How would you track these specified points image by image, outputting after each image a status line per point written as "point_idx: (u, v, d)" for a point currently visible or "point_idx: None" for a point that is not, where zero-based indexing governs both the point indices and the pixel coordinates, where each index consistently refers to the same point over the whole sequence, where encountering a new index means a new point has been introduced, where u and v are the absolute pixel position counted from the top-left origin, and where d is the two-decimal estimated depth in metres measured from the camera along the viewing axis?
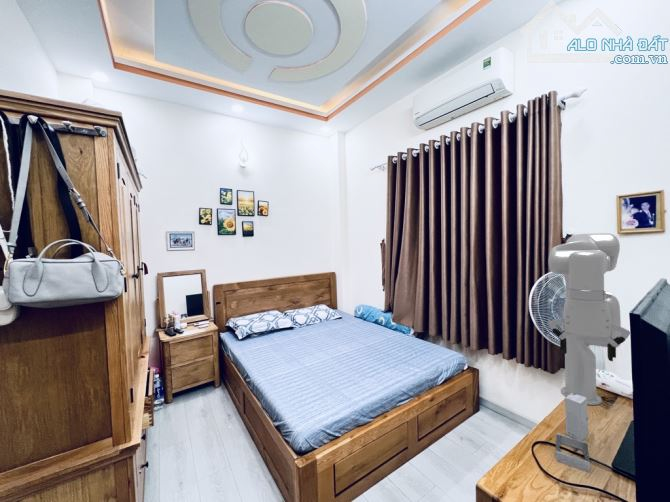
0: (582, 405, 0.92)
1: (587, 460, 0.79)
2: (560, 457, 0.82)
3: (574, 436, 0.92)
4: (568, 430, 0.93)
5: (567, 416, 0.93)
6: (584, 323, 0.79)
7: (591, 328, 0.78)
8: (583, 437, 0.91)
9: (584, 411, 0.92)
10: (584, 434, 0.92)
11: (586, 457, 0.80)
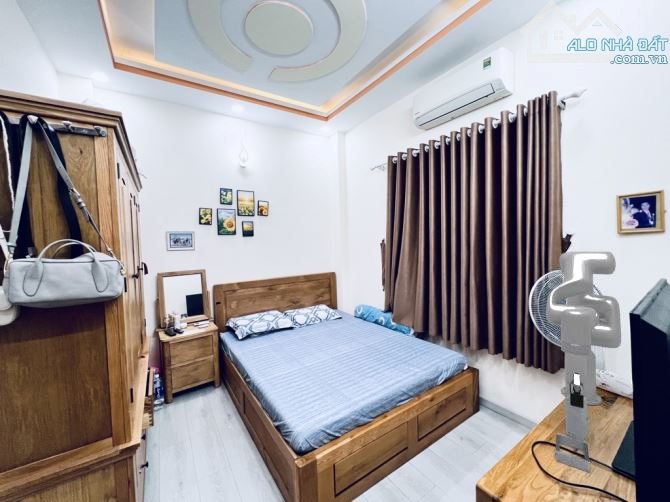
0: None
1: (587, 460, 0.79)
2: (560, 457, 0.82)
3: (574, 436, 0.92)
4: (568, 430, 0.93)
5: (567, 416, 0.93)
6: None
7: None
8: (583, 437, 0.91)
9: (584, 411, 0.92)
10: (584, 434, 0.92)
11: (586, 457, 0.80)
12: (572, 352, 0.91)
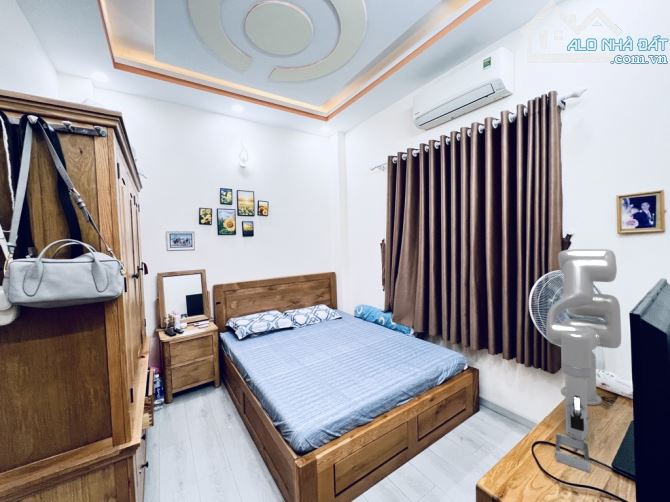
0: None
1: (587, 460, 0.79)
2: (560, 457, 0.82)
3: (574, 436, 0.92)
4: (568, 430, 0.93)
5: (567, 416, 0.93)
6: None
7: None
8: (583, 437, 0.91)
9: (584, 411, 0.92)
10: (584, 434, 0.92)
11: (586, 457, 0.80)
12: (572, 375, 0.91)
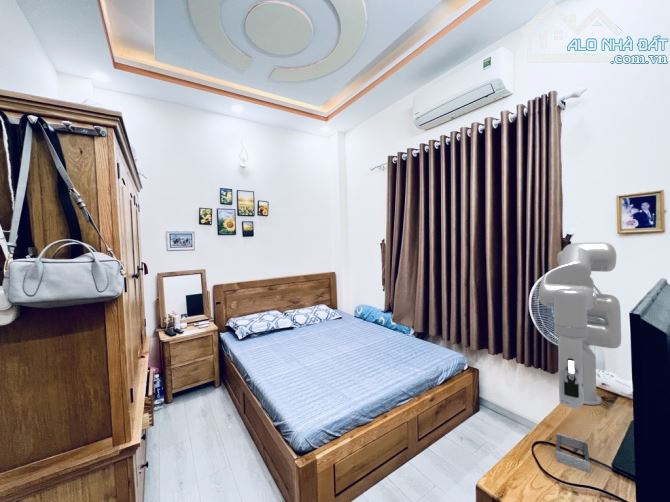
0: None
1: (587, 460, 0.79)
2: (560, 457, 0.82)
3: (568, 404, 0.83)
4: (561, 398, 0.84)
5: (560, 382, 0.84)
6: None
7: None
8: (578, 405, 0.82)
9: (579, 376, 0.83)
10: (579, 402, 0.82)
11: (586, 457, 0.80)
12: (566, 335, 0.82)
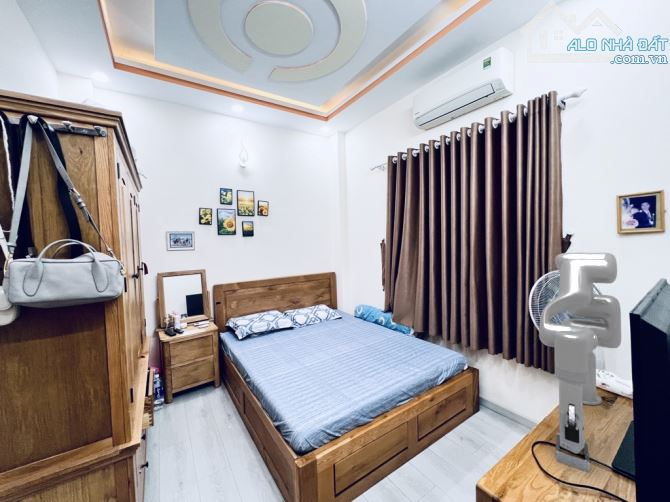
0: None
1: (587, 460, 0.79)
2: (560, 457, 0.82)
3: (569, 448, 0.83)
4: (562, 441, 0.84)
5: (561, 426, 0.84)
6: None
7: None
8: (579, 450, 0.82)
9: (580, 420, 0.83)
10: (580, 446, 0.82)
11: (586, 457, 0.80)
12: (567, 380, 0.82)
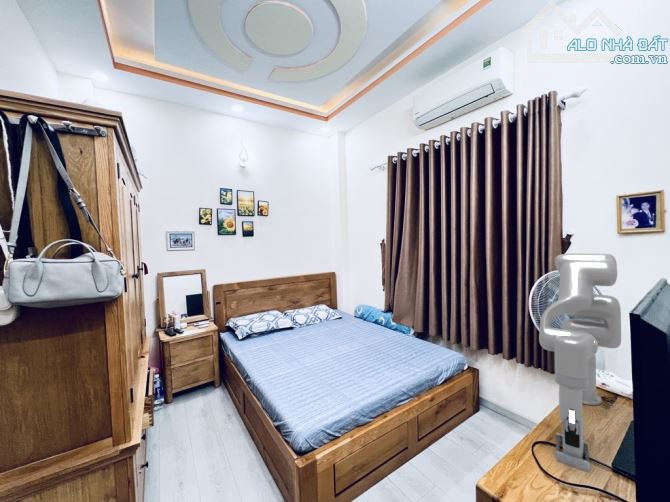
0: (581, 424, 0.82)
1: (587, 460, 0.79)
2: (560, 457, 0.82)
3: None
4: (565, 453, 0.83)
5: (564, 437, 0.83)
6: None
7: None
8: None
9: (582, 430, 0.83)
10: (582, 456, 0.82)
11: (586, 457, 0.80)
12: (567, 385, 0.82)
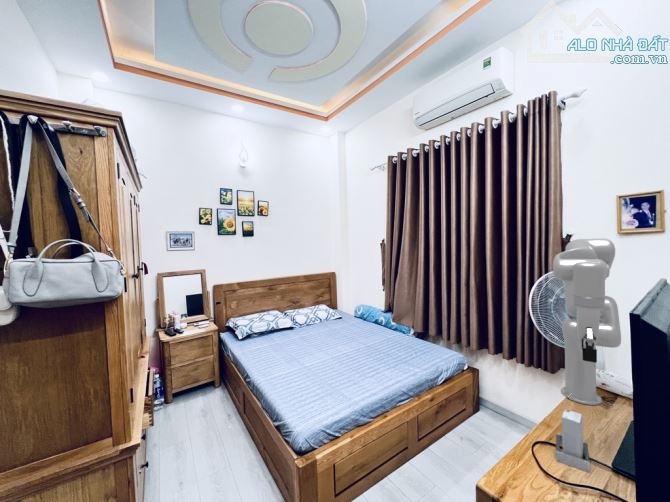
0: (580, 423, 0.82)
1: (587, 460, 0.79)
2: (560, 457, 0.82)
3: None
4: (565, 453, 0.83)
5: (564, 437, 0.83)
6: None
7: None
8: None
9: (581, 430, 0.83)
10: (582, 456, 0.82)
11: (586, 457, 0.80)
12: (585, 306, 0.87)
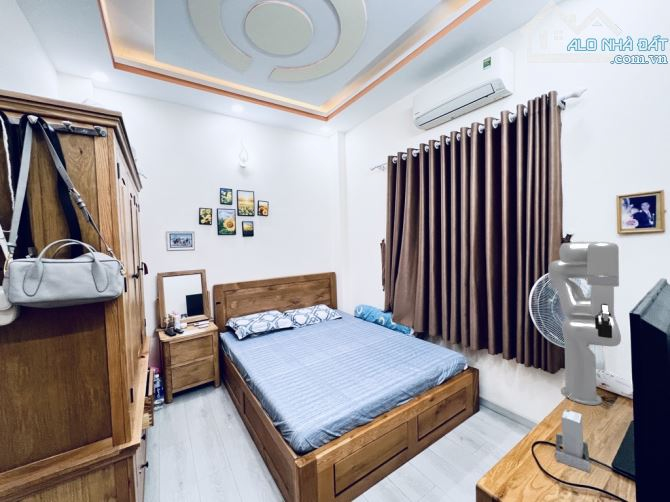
0: (580, 423, 0.82)
1: (587, 460, 0.79)
2: (560, 457, 0.82)
3: None
4: (565, 453, 0.83)
5: (564, 437, 0.83)
6: None
7: None
8: None
9: (581, 430, 0.83)
10: (582, 456, 0.82)
11: (586, 457, 0.80)
12: (599, 284, 0.90)
